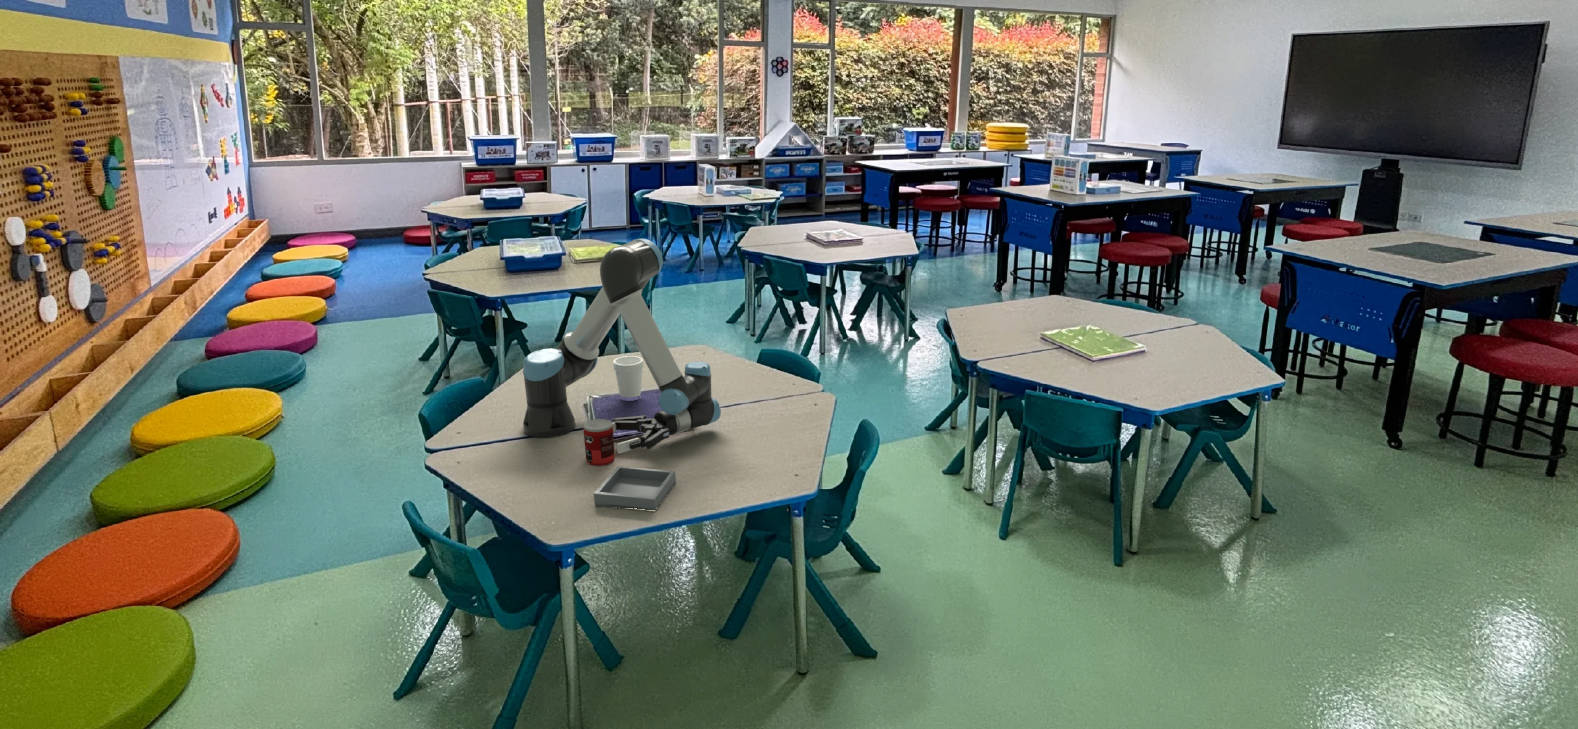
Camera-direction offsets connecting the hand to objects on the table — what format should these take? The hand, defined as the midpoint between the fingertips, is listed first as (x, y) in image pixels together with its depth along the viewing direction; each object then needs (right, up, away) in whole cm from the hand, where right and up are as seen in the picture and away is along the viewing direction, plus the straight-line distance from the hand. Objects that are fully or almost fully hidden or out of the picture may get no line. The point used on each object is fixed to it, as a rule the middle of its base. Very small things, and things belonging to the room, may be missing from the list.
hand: (605, 440), depth 254 cm
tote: (+11, -12, -17) cm, 24 cm away
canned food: (-2, -6, +2) cm, 6 cm away
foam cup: (-1, +10, +46) cm, 47 cm away
